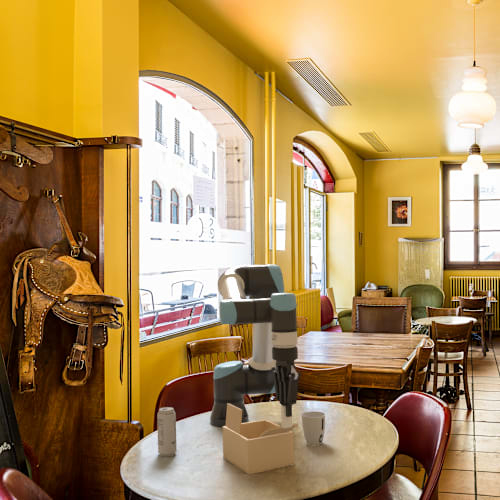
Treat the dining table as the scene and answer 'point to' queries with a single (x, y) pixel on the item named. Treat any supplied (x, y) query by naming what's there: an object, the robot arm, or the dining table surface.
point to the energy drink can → (166, 431)
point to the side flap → (234, 418)
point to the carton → (258, 447)
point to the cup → (313, 427)
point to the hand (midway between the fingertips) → (287, 426)
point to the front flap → (277, 430)
